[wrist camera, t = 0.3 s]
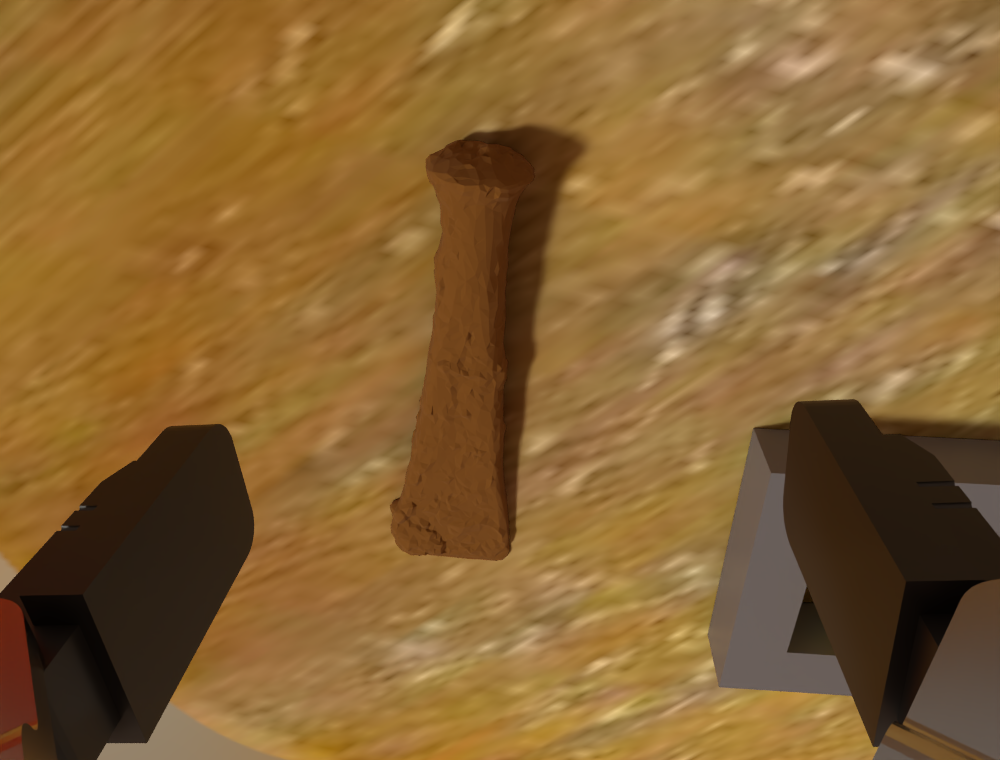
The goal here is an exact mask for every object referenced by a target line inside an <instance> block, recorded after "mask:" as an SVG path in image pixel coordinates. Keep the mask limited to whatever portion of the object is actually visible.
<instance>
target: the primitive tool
mask: <svg viewBox="0 0 1000 760" xmlns="http://www.w3.org/2000/svg"><path fill="white" fill-rule="evenodd" d="M426 171H427V176H428V178H429V181H430V183H431V184H432V185H433V186H434V189H435V191H436V196H437V198H438V201H439V203H440V209H441V221H440V222H441V226H442V229H443V232H442V236H441V240H440V244H439V248H438V250H437V252H436V255H435V257H434V263H435V269H434V275H435V283H436V291H437V294H436V303H435V313H434V315H433V331H432V336H431V341H430V346H429V352H428V359H427V368H426V375H425V380H424V387H423V389H422V396H421V398H420V400H419V401H420V410H419V412H418V414H417V416H416V419H417V423H416V429H415V430H414V432H413V437H412V452H411V459H410V462H409V465H408V468H407V472H406V478H405V485H404V487H403V491H402V494H401V497H400V498H399V499H397V500H394V501H393V502H392V504H391V505H390V509H391V512H392V516H393V520H392V524H391V533H392V534H393V536H394V538H395V542H396V544H397V546H398V547H399V548H400V549H401V550H402V551H404V552H406V553H408V554H410V555H419V556H420V555H427V554H429V555H436V556H447V557H457V558H467V559H483V560H495V561H497V560H503V559H504V558H505V557H506V556H507V555H508V553H509V548H510V545H509V517H508V506H507V497H506V491H505V482H504V472H503V450H504V434H505V431H506V425H505V424H504V420H503V413H504V412H503V406H504V398H503V397H504V392H503V387H504V383H505V381H506V379H507V365H508V360H507V359H506V355H505V350H504V344H503V338H504V331H505V320H506V301H505V288H506V284H507V280H506V275H507V269H508V265H509V264H508V246H509V239H510V233H511V227H512V221H513V218H514V214H515V206H516V204H517V201H518V199H519V197H520V194H521V193H522V192H523V190H524V189H525V188H526V186H527V185H528V184H529V183H531V182H532V181H533V179H534V177H535V174H534V168H533V167H532V166H531V164H530V163H529V162H528V161H527V160H526V159H525V158H524V157H523V155H522V154H519V153H517V152H515V151H514V150H513V149H511V148H510V147H506V146H502V145H498V144H486V143H485V142H482V141H467V140H457V141H455V142H452V143H450V144H448V145H446V147H445V148H444V149H442V150H440V151H438V152H435V153H433V154H431V155H429V157H428V158H427V159H426Z"/></svg>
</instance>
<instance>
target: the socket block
mask: <svg viewBox="0 0 1000 760" xmlns="http://www.w3.org/2000/svg"><path fill="white" fill-rule="evenodd" d="M789 432H790V430H778V429H758V428H753V433H752V437H751V442H750V446H749V451H748V455H747V460H746V464H745V469H744V473H743V478H742V482H741V487H740V491H739V496H738V501H737V505H736V510H735V514H734V519H733V523H732V528H731V532H730V537H729V541H728V546H727V550H726V555H725V559H724V564H723V568H722V573H721V578H720V582H719V587H718V591H717V596H716V600H715V605H714V609H713V614H712V618H711V623H710V627H709V632H708V638H709V642H710V647H711V652H712V656H713V661H714V666H715V670H716V675H717V680H718V684H719V687H726V688H741V689H756V690H772V691H787V692H802V693H817V694H833V695H848V696H852V694H851V692H850V689H849V687H848V685H847V682H846V680H845V677H844V675H843V672H842V670H841V668H840V665H839V663H838V660H837V658H836V655H835V653H834V651H833V648H832V646H831V643H830V641H829V638H828V636H827V634H826V631H825V629H824V626H823V624H822V621H821V619H820V617H819V614H818V612H817V609H816V607H815V604H814V603H802V600H803V597H804V594H805V590H806V587H807V585H806V583H805V580H804V578H803V575H802V573H801V570H800V568H799V566H798V563H797V561H796V558H795V556H794V553H793V551H792V549H791V546H790V544H789V541H788V538H787V534H786V529H785V524H784V515H783V493H784V483H785V472H786V462H787V452H788V442H789ZM904 437H906V438H908V439H909V440H911V441H912V442H914V443H916V444H917V445H919V446H920V447H922V448H924V449H925V450H927V451H928V452H930V453H932V454H933V455H935V457H936V458H937V459H938V460H939V462H940V463H941V464H942V465H943V467H944V468H945V469H946V470H947V472H948V473H949V474H950V475H951V477H952V478H953V479H954V480H955V486H959V487H960V488H961V489H962V491H963V492H964V493H965V494H966V496H967V497H968V498H969V499H970V501H971V502H972V503H971V504H972V508H977V509H978V511H979V512H980V513H981V515H982V516H983V517H984V518H985V520H986V521H987V522H988V523H989V525H990V526H991V527H992V528H993V530H994V531H995V532H996V533H997V535H998V536H999V537H1000V441H997V440H977V439H957V438H938V437H918V436H904Z"/></svg>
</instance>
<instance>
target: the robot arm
mask: <svg viewBox="0 0 1000 760" xmlns="http://www.w3.org/2000/svg"><path fill="white" fill-rule="evenodd" d="M971 503H972V502H971V501H970V499H969V498H968V497H967V496H966V494H965V493H964V492H963V491H962V489H961V488H960V487H959V486H955V480H954V479H953V478H952V477H951V475H950V474H949V473H948V472H947V470H946V469H945V468H944V467H943V465H942V464H941V463H940V462H939V460H938V459H937V458H936V457H935V455H933V454H932V453H930V452H928V451H927V450H925V449H924V448H922V447H920V446H919V445H917V444H916V443H914V442H912V441H911V440H909V439H908V438H906V437H904V436H903V435H901V434H892V435H882V433H881V432H880V431H879V429H878V428H877V426H876V425H875V424H874V422H873V421H872V419H871V418H870V417H869V415H868V414H867V412H866V411H865V410H864V408H863V407H862V405H861V404H860V403H859V402H858V401H857V400H854V399H850V400H825V401H801V402H797V403H796V404H795V405H794V407H793V410H792V415H791V422H790V432H789V442H788V452H787V462H786V472H785V483H784V493H783V515H784V524H785V529H786V534H787V538H788V541H789V544H790V546H791V549H792V551H793V553H794V556H795V558H796V561H797V563H798V566H799V568H800V570H801V573H802V575H803V578H804V580H805V583H806V585H807V587H808V590H809V592H810V595H811V597H812V600H813V602H814V604H815V607H816V609H817V612H818V614H819V617H820V619H821V621H822V624H823V626H824V629H825V631H826V634H827V636H828V638H829V641H830V643H831V646H832V648H833V651H834V653H835V655H836V658H837V660H838V663H839V665H840V668H841V670H842V672H843V675H844V677H845V680H846V682H847V685H848V687H849V689H850V692H851V694H852V697H853V699H854V702H855V704H856V706H857V709H858V711H859V714H860V716H861V719H862V721H863V723H864V726H865V728H866V731H867V733H868V736H869V738H870V740H871V743H872V745H873V747H878V749H877V752H876V754H875V756H874V758H873V760H1000V537H999V536H998V535H997V533H996V532H995V531H994V530H993V528H992V527H991V526H990V525H989V523H988V522H987V521H986V520H985V518H984V517H983V516H982V515H981V513H980V512H979V511H978V509H977V508H972V504H971ZM61 527H62V529H61V531H56V532H55V533H54V535H53V536H52V537H51V538H50V539H49V540H48V541H47V542H46V543H45V544H44V546H43V547H42V548H41V549H40V550H39V551H38V552H37V553H36V554H35V555H34V557H33V558H32V559H31V560H30V561H29V562H28V563H27V564H26V565H25V566H24V568H23V569H22V570H21V571H20V572H19V573H18V574H17V575H16V576H15V577H14V579H13V580H12V581H11V582H10V583H9V584H8V585H7V586H6V587H5V588H4V590H3V591H2V592H1V593H0V760H97V758H98V756H99V755H100V753H101V751H102V750H103V748H104V746H105V745H106V743H147V742H148V740H149V738H150V736H151V734H152V733H153V731H154V729H155V727H156V725H157V723H158V721H159V720H160V718H161V716H162V714H163V712H164V710H165V708H166V706H167V705H168V703H169V701H170V699H171V697H172V695H173V694H174V692H175V690H176V688H177V686H178V684H179V682H180V681H181V679H182V677H183V675H184V673H185V671H186V669H187V668H188V666H189V664H190V662H191V660H192V658H193V656H194V655H195V653H196V651H197V649H198V647H199V645H200V643H201V642H202V640H203V638H204V636H205V634H206V632H207V630H208V629H209V627H210V625H211V623H212V621H213V619H214V617H215V616H216V614H217V612H218V610H219V608H220V606H221V604H222V603H223V601H224V599H225V597H226V595H227V593H228V591H229V590H230V588H231V586H232V584H233V582H234V580H235V578H236V577H237V575H238V573H239V571H240V569H241V567H242V565H243V564H244V562H245V560H246V558H247V556H248V554H249V552H250V549H251V546H252V542H253V535H254V517H253V511H252V507H251V504H250V500H249V497H248V493H247V490H246V486H245V482H244V479H243V475H242V472H241V468H240V465H239V461H238V458H237V454H236V451H235V447H234V444H233V440H232V437H231V435H230V433H229V431H228V430H227V428H226V427H225V426H223V425H221V424H210V425H186V426H170V427H168V428H166V429H165V430H164V431H163V432H162V433H161V434H160V435H159V436H158V437H157V438H156V440H155V441H154V442H153V443H152V444H151V445H150V446H149V448H148V449H147V450H146V451H145V452H144V453H143V454H142V456H141V457H140V458H139V459H138V460H137V461H133V462H131V463H130V464H128V465H127V466H125V467H124V468H122V469H120V470H119V471H117V472H116V473H114V474H113V475H111V476H110V477H108V478H107V479H105V480H104V481H102V482H101V483H100V484H99V485H98V486H97V487H96V488H95V489H94V491H93V492H92V493H91V494H90V495H89V496H88V497H87V498H86V499H85V500H84V502H83V503H82V504H81V505H80V510H79V511H74V513H73V514H72V515H71V516H70V517H69V518H68V519H67V520H66V521H65V522H64V524H63V525H62V526H61Z"/></svg>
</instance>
